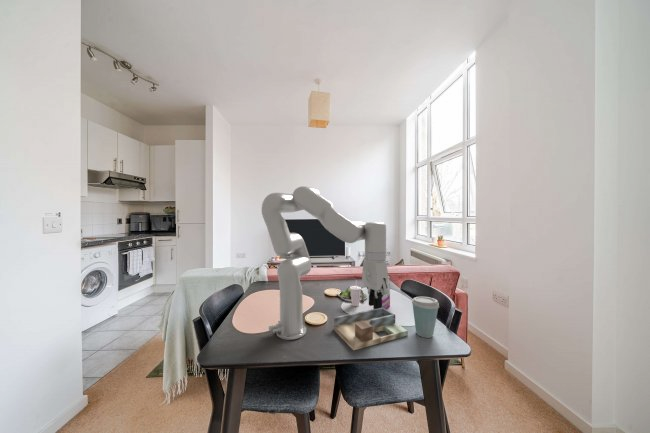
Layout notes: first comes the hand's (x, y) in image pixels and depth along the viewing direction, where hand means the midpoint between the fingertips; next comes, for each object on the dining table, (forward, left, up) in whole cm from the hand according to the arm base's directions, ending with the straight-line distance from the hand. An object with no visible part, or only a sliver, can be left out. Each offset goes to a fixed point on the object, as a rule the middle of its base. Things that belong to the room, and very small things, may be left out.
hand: (375, 306), depth 85 cm
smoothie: (+16, +40, -17) cm, 47 cm away
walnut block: (0, +8, -15) cm, 17 cm away
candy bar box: (+26, +30, -17) cm, 44 cm away
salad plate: (+21, +53, -18) cm, 59 cm away
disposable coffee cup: (+27, +2, -17) cm, 32 cm away
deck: (+6, +13, -17) cm, 22 cm away
